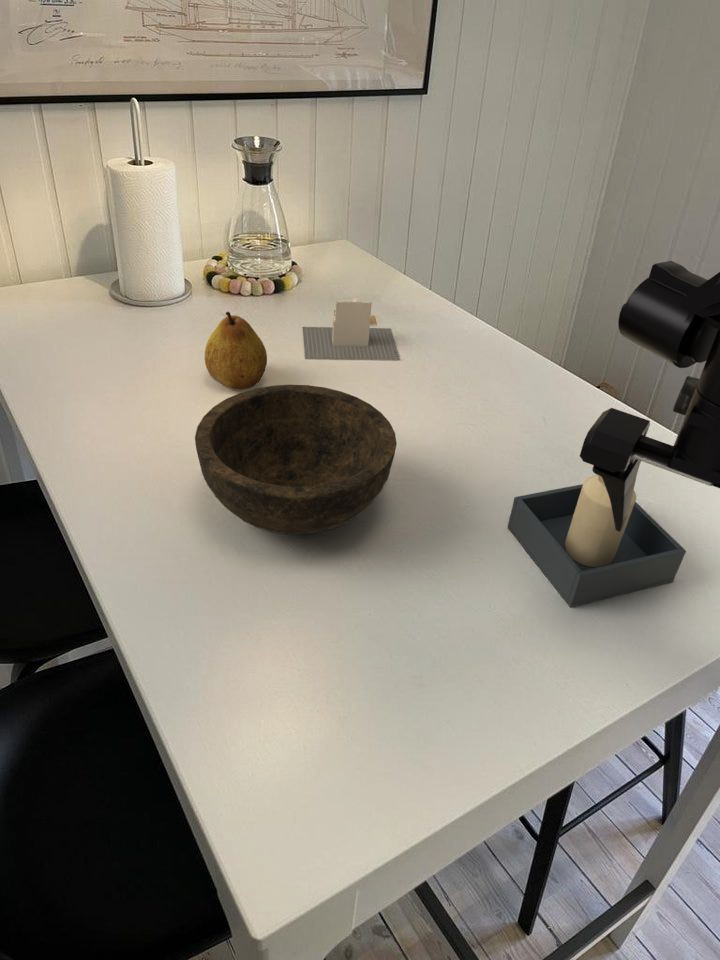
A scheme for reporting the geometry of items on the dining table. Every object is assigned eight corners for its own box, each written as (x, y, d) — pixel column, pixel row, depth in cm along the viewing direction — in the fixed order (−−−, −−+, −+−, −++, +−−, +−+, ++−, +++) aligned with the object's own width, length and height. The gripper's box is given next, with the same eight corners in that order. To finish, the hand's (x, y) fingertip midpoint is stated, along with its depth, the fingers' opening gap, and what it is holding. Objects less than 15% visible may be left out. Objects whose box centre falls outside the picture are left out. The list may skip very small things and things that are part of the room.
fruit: (243, 360, 115) (241, 286, 108) (279, 385, 109) (279, 308, 102) (194, 376, 110) (188, 299, 103) (229, 403, 105) (225, 323, 97)
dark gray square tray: (673, 581, 82) (686, 551, 79) (569, 607, 77) (580, 576, 75) (602, 507, 91) (612, 478, 89) (507, 527, 87) (514, 496, 84)
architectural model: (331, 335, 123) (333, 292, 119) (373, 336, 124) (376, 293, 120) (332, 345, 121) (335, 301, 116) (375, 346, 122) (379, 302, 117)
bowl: (427, 517, 88) (438, 446, 82) (276, 601, 75) (276, 525, 69) (309, 433, 100) (312, 366, 94) (164, 494, 88) (156, 422, 82)
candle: (610, 538, 86) (635, 467, 80) (617, 571, 82) (644, 499, 76) (562, 531, 86) (583, 461, 80) (566, 564, 82) (589, 492, 76)
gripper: (881, 393, 58) (797, 543, 68) (642, 323, 66) (597, 468, 75) (871, 458, 51) (778, 618, 60) (603, 372, 58) (557, 526, 67)
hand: (670, 549), depth 66 cm, fingers open, 9 cm apart
